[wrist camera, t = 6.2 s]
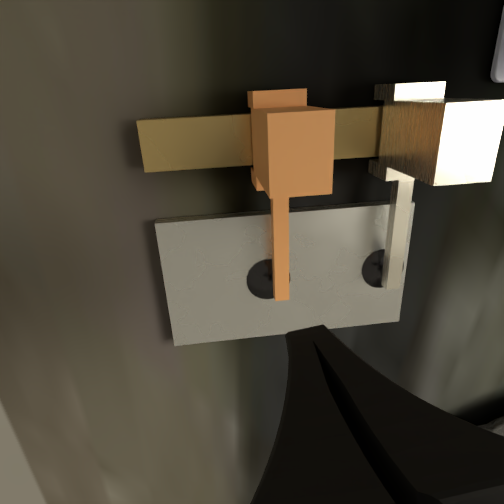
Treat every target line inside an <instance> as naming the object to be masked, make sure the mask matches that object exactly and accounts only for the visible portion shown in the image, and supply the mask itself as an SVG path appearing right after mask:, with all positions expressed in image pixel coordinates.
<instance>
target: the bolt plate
mask: <svg viewBox="0 0 504 504" xmlns="http://www.w3.org/2000/svg"><path fill="white" fill-rule="evenodd" d="M389 206H390V200H387V201H374V202H362V203H350V204H337V205H325V206H312V207H300V208H289V300H282V301H275V299H274V296H273V268H272V231H271V210H263V211H250V212H238V213H225V214H213V215H201V216H188V217H176V218H163V219H156V221H155V229H156V235H157V242H158V248H159V254H160V260H161V266H162V272H163V278H164V285H165V291H166V297H167V303H168V309H169V315H170V321H171V327H172V334H173V340H174V346H178V345H187V344H196V343H205V342H214V341H223V340H232V339H241V338H250V337H259V336H268V335H277V334H286V333H288V332H290V331H294V330H299V329H304V328H308V327H313V326H318V325H325V326H326V327H327V328H328V329H332V328H341V327H350V326H359V325H368V324H377V323H386V322H395V321H399V316H400V308H401V301H402V294H403V286H404V279H405V272H406V265H407V257H408V250H409V243H410V235H411V228H412V221H413V213H414V206H415V202H413V201H411V207H410V215H409V222H408V230H407V237H406V245H405V252H404V260H403V268H402V275H401V283H400V288H399V289H389V290H386V289H385V288H384V287H383V286H382V284H381V280H382V276H381V274H380V271H381V269H382V268H383V262H384V253H385V243H386V234H387V225H388V216H389Z"/></svg>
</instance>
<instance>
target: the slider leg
mask: <svg viewBox="0 0 504 504" xmlns="http://www.w3.org/2000/svg"><path fill="white" fill-rule="evenodd" d="M247 95H248V107H250V108H251V123H252V145H253V167H254V168H251V179H252V183H253V184H254V186H255V188H256V190H257V191H262V190H265V192H266V193H267V195H268V197H269V198H270V199H271V231H272V268H273V296H274V299H275V301H282V300H289V197H299V196H312V195H324V194H332V183H333V159H334V135H335V111H336V110H335V109H328V108H320V107H313V106H307V89H283V90H264V91H247Z"/></svg>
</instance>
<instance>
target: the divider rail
mask: <svg viewBox="0 0 504 504" xmlns="http://www.w3.org/2000/svg"><path fill="white" fill-rule="evenodd" d="M445 85H446V81H441V82H419V83H399V84H380V85H375V90H374V100H384V105H378V106H360V107H343V108H328V109H335V110H336V111H335V135H334V159H347V158H361V157H376V156H379V159H369V165H368V173H370V174H372V175H374V176H376V177H378V178H380V179H382V180H384V181H392V188H391V197H390V206H389V216H388V225H387V234H386V243H385V253H384V262H383V268H382V269H381V271H380V274H381V276H382V280H381V284H382V286H383V287H384V288H385V289H386V290H389V289H399V288H400V283H401V275H402V268H403V260H404V252H405V245H406V237H407V230H408V222H409V215H410V207H411V199H412V192H413V184H414V179H418V180H420V181H422V182H425V183H427V184H430V185H432V186H440V185H453V184H466V183H478V182H491V179H492V174H493V169H494V165H495V160H496V156H497V151H498V146H499V142H500V137H501V133H502V128H503V123H504V100H502V99H464V98H444V92H445ZM136 122H137V128H138V134H139V140H140V147H141V153H142V159H143V165H144V171H145V172H160V171H174V170H189V169H203V168H217V167H232V166H246V165H253V145H252V123H251V113H237V114H220V115H202V116H185V117H167V118H150V119H139V120H137V121H136Z"/></svg>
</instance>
